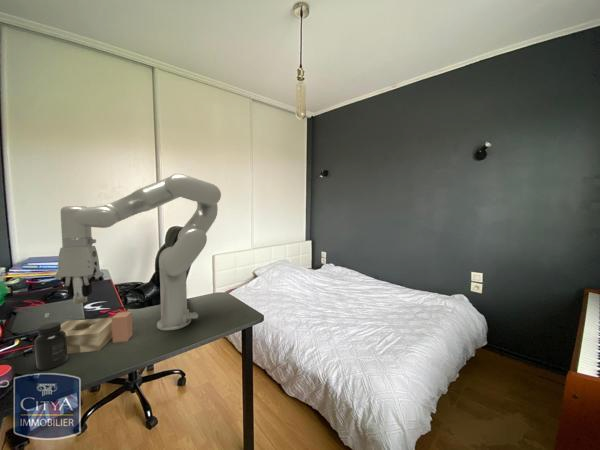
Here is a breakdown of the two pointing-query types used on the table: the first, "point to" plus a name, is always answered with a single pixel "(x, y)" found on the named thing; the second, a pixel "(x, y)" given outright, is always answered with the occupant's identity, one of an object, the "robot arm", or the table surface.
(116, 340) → the square rust bit
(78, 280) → the round metal bit
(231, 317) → the table surface
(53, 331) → the supplement bottle
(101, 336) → the socket block
